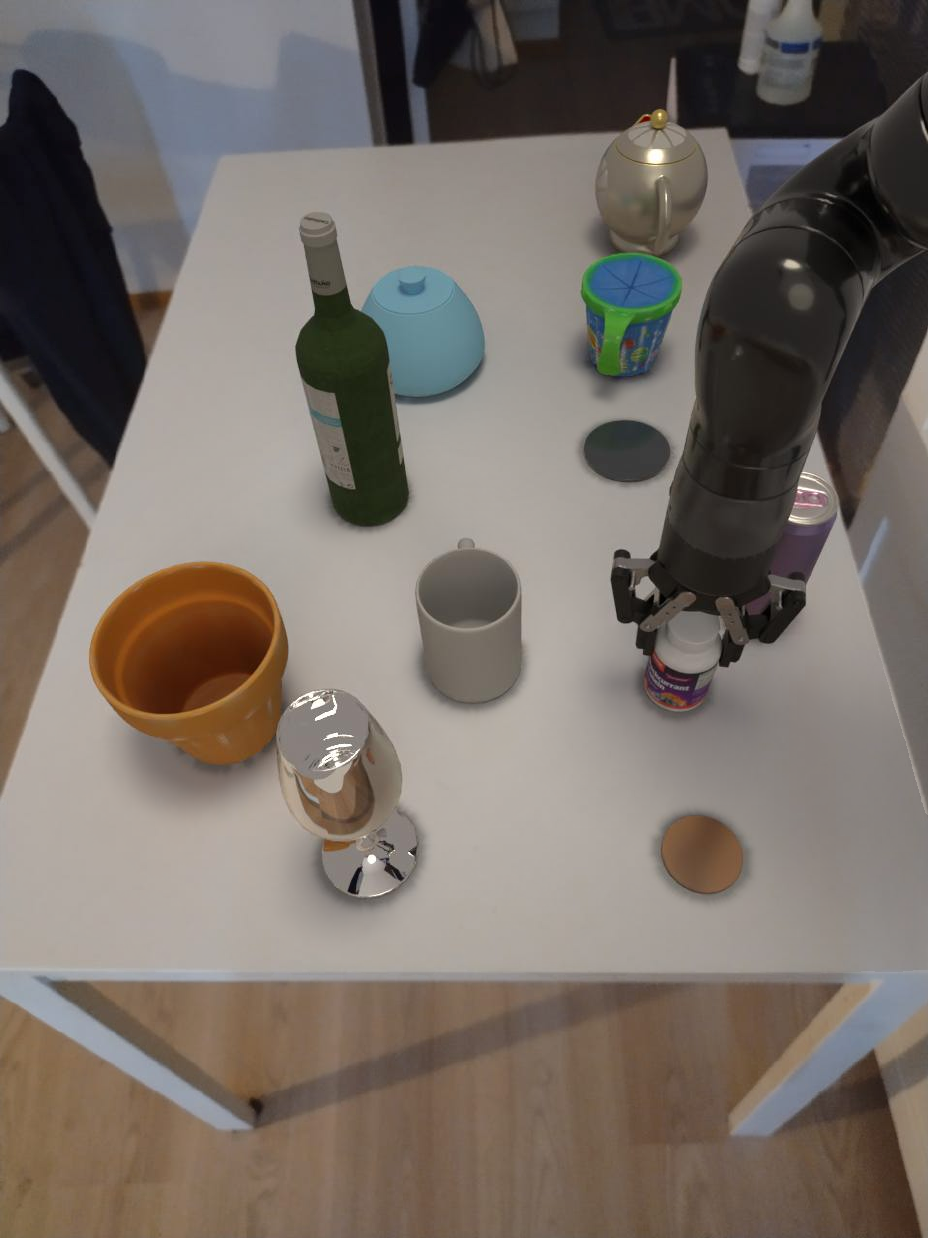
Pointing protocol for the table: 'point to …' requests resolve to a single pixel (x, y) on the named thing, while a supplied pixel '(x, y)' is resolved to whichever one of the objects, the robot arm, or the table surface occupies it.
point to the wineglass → (346, 791)
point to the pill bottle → (683, 660)
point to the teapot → (650, 185)
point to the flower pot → (195, 660)
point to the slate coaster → (626, 451)
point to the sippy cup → (628, 310)
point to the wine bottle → (349, 389)
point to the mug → (470, 622)
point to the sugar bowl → (426, 330)
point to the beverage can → (803, 531)
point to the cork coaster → (702, 854)
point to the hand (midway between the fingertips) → (685, 651)
